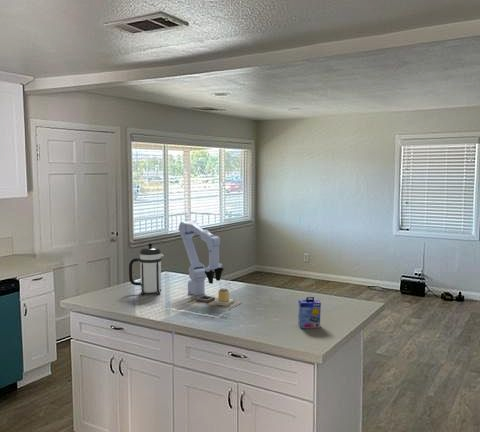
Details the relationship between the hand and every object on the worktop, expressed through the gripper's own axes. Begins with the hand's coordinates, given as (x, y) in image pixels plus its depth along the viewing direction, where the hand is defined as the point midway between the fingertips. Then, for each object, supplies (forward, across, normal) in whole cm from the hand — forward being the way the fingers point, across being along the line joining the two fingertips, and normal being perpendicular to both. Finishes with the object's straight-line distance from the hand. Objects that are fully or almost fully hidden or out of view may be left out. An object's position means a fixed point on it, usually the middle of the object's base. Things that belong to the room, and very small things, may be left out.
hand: (214, 281), depth 269 cm
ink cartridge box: (+11, -17, -63) cm, 66 cm away
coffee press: (+10, -6, +42) cm, 44 cm away
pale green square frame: (+10, -6, -10) cm, 15 cm away
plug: (+10, -6, -9) cm, 15 cm away
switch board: (+10, -6, -4) cm, 13 cm away
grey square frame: (+10, -6, +2) cm, 12 cm away
